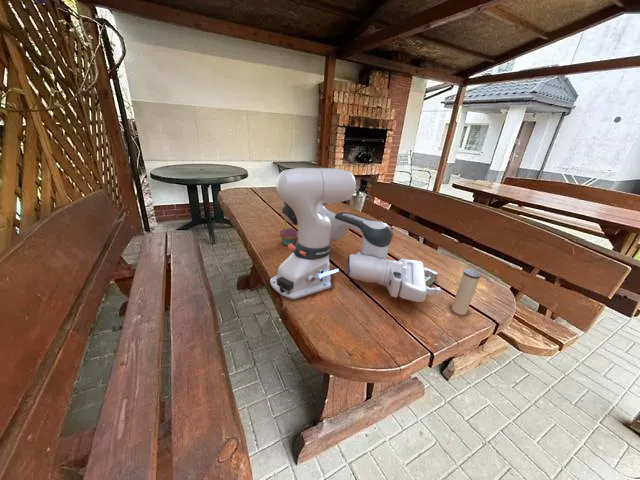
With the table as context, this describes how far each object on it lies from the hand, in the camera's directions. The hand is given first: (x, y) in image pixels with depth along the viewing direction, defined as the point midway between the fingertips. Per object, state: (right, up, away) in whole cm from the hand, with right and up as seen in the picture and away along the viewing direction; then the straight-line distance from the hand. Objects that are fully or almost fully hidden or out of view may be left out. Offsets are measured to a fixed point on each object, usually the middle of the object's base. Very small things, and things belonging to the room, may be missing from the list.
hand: (439, 283), depth 83 cm
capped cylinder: (+7, -9, +1) cm, 11 cm away
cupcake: (-52, +12, +39) cm, 66 cm away
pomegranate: (-5, +15, +53) cm, 55 cm away
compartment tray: (-4, -1, +16) cm, 17 cm away
